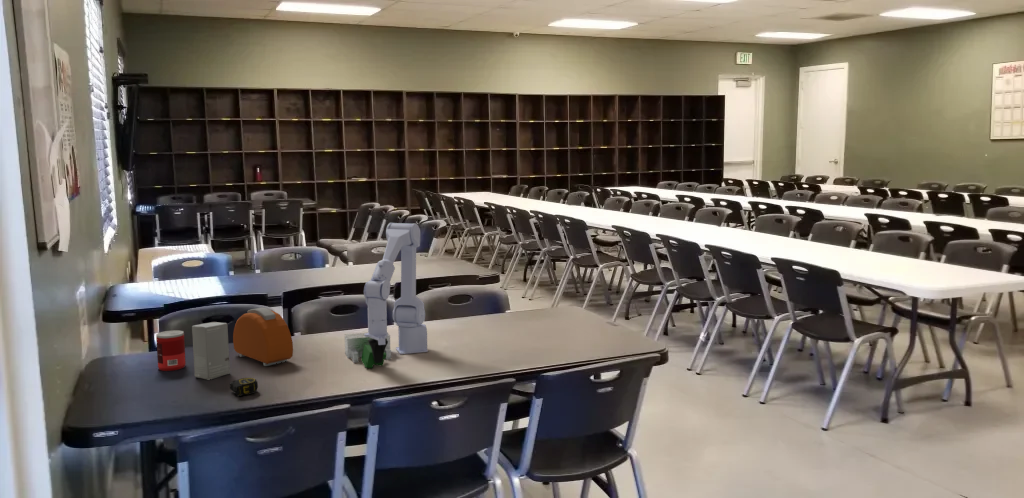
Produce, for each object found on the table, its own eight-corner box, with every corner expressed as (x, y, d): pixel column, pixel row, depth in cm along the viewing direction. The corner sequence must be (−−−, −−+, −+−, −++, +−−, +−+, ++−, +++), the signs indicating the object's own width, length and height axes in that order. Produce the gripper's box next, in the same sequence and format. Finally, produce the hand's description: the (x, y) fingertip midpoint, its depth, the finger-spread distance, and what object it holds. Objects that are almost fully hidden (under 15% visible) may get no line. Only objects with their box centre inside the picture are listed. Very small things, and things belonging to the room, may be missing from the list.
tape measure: (229, 392, 211) (228, 379, 211) (254, 388, 215) (253, 375, 214) (235, 399, 206) (235, 385, 205) (261, 394, 209) (260, 381, 209)
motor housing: (386, 349, 257) (386, 329, 256) (394, 359, 245) (393, 338, 244) (345, 353, 252) (344, 332, 251) (350, 363, 240) (349, 341, 239)
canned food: (191, 365, 237) (189, 331, 236) (172, 372, 230) (170, 337, 228) (171, 363, 240) (169, 329, 238) (152, 369, 232) (150, 335, 231)
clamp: (380, 379, 237) (387, 358, 233) (362, 376, 235) (370, 355, 231) (377, 357, 246) (384, 336, 243) (360, 355, 244) (367, 334, 241)
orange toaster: (294, 363, 240) (292, 311, 238) (268, 369, 234) (266, 316, 232) (257, 350, 256) (255, 301, 254) (232, 355, 250) (230, 305, 248)
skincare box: (208, 380, 221) (206, 328, 219) (192, 377, 225) (189, 325, 223) (232, 373, 229) (229, 322, 227) (215, 370, 232) (213, 319, 230)
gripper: (360, 315, 236) (361, 357, 238) (368, 325, 223) (369, 369, 225) (382, 313, 239) (383, 355, 241) (391, 323, 225) (392, 367, 227)
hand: (378, 362), depth 233 cm, fingers closed
